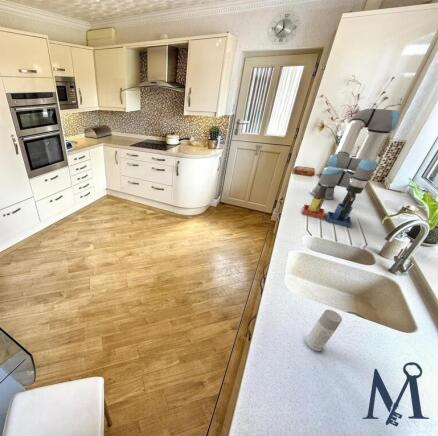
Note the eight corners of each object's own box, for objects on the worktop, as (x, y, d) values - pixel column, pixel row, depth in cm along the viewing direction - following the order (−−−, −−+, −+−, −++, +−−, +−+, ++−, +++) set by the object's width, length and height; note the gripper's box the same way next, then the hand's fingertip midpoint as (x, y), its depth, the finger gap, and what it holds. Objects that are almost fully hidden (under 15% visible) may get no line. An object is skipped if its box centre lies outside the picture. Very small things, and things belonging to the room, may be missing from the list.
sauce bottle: (316, 215, 157) (328, 188, 147) (306, 211, 161) (317, 185, 151) (319, 212, 161) (331, 185, 151) (309, 209, 165) (320, 182, 155)
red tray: (302, 207, 168) (304, 204, 167) (322, 212, 163) (324, 209, 161) (301, 213, 160) (303, 210, 158) (322, 219, 154) (324, 216, 153)
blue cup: (331, 214, 157) (337, 202, 152) (345, 217, 153) (352, 205, 149) (332, 218, 151) (338, 206, 147) (346, 222, 148) (353, 210, 143)
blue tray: (326, 214, 160) (328, 211, 159) (348, 219, 155) (350, 216, 153) (326, 221, 151) (328, 218, 150) (349, 227, 146) (351, 224, 144)
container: (304, 336, 80) (322, 307, 73) (319, 341, 79) (340, 312, 71) (306, 348, 77) (326, 319, 69) (322, 354, 75) (344, 324, 68)
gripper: (347, 179, 150) (331, 210, 161) (350, 189, 135) (332, 222, 146) (362, 182, 146) (345, 213, 158) (366, 192, 131) (347, 226, 143)
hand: (339, 218), depth 152 cm, fingers closed on blue cup, 8 cm apart
